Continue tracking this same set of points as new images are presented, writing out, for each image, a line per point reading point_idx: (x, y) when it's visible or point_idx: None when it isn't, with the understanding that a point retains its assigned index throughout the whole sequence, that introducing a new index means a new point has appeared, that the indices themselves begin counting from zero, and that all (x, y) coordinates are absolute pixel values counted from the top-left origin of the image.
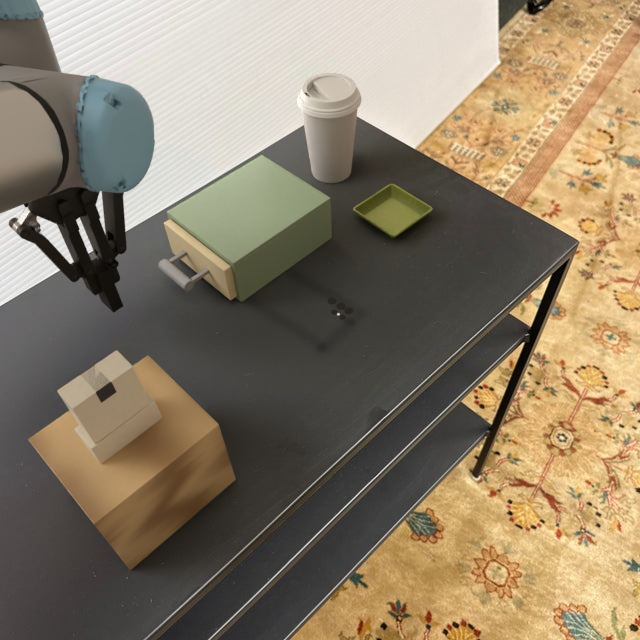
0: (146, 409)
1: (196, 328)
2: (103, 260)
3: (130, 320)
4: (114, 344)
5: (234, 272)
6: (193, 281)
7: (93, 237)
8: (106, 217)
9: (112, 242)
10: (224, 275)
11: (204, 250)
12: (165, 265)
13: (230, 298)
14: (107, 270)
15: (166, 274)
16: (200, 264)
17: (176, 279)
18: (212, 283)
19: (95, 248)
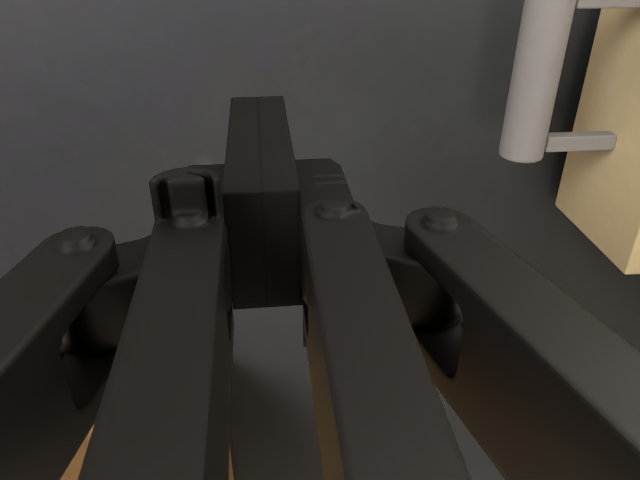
0: None
1: (424, 196)
2: (304, 317)
3: (306, 24)
4: (212, 77)
5: None
6: (544, 150)
7: (324, 454)
8: (537, 398)
9: (424, 291)
10: (611, 258)
11: None
12: (548, 25)
13: (559, 208)
14: (292, 302)
15: (518, 40)
16: (623, 97)
17: (516, 113)
18: (579, 129)
19: (309, 310)
